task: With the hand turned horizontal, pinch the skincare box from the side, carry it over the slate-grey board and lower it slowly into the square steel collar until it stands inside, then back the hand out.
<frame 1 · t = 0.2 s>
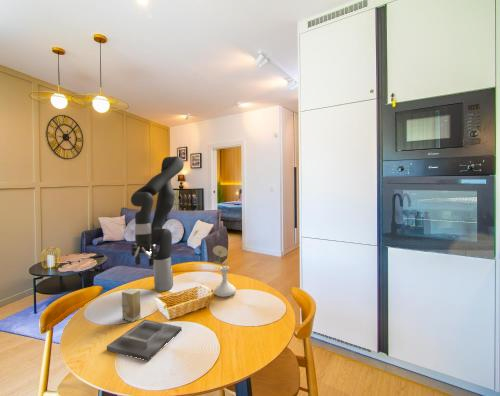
hand: (144, 265, 126), 17 cm above the table, tool pointing down, fingers open, 8 cm apart
flower in vase: (223, 294, 131), on the table
holder board: (146, 339, 93), on the table
skincare box: (132, 319, 109), on the table
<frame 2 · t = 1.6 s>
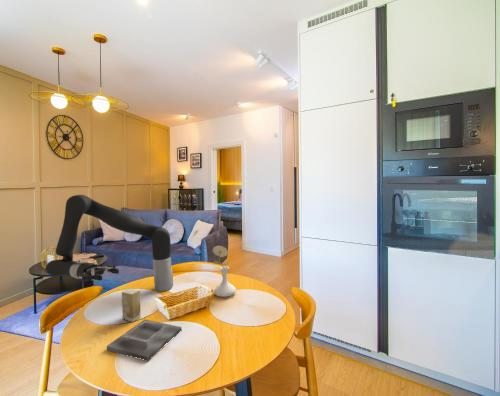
hand: (110, 274, 111), 18 cm above the table, tool horizontal, fingers open, 8 cm apart
nothing on the table moved.
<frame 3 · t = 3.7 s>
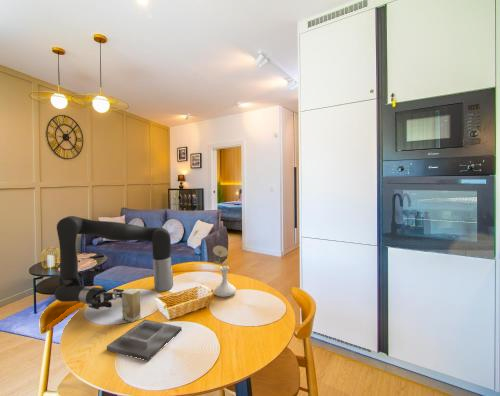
hand: (119, 300, 111), 7 cm above the table, tool horizontal, fingers open, 8 cm apart
nothing on the table moved.
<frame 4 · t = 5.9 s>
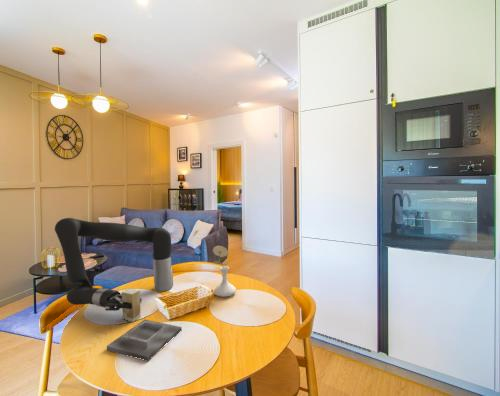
hand: (136, 303, 107), 7 cm above the table, tool horizontal, fingers closed on skincare box, 4 cm apart
skincare box: (132, 319, 109), on the table, touching gripper
everything else where it was.
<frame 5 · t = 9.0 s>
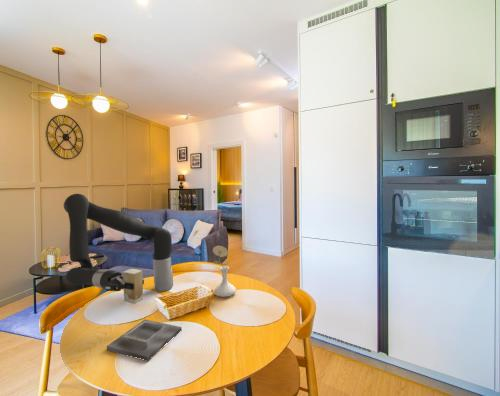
hand: (138, 284, 101), 18 cm above the table, tool horizontal, fingers closed on skincare box, 4 cm apart
skincare box: (133, 301, 102), point 10 cm above the table, touching gripper
everything else where it was.
when the fingers open (10 cm above the table, at t = 12.2 s): skincare box drops 1 cm, resting on holder board.
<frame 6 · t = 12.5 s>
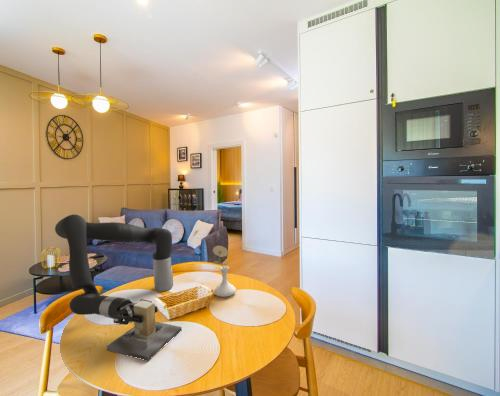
hand: (149, 314, 92), 10 cm above the table, tool horizontal, fingers open, 6 cm apart
skincare box: (145, 336, 93), point 1 cm above the table, touching holder board
everything else where it was.
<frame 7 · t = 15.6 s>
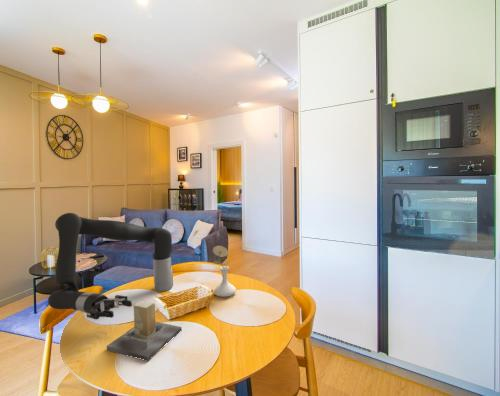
hand: (122, 309, 97), 10 cm above the table, tool horizontal, fingers open, 8 cm apart
nothing on the table moved.
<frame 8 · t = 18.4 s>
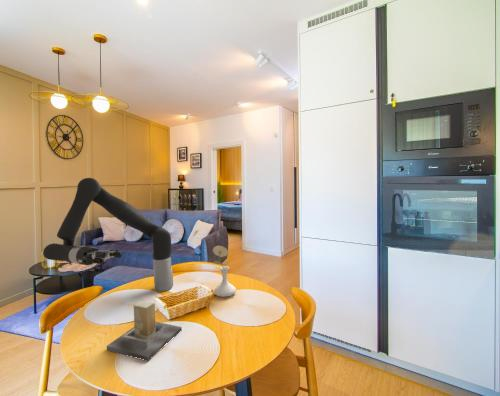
hand: (112, 257, 102), 28 cm above the table, tool horizontal, fingers open, 8 cm apart
nothing on the table moved.
at the end: skincare box 0.2 cm off-centre on the holder board, point 1.3 cm above the holder board's base; skincare box tilted 0°; the gripper is holding nothing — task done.
